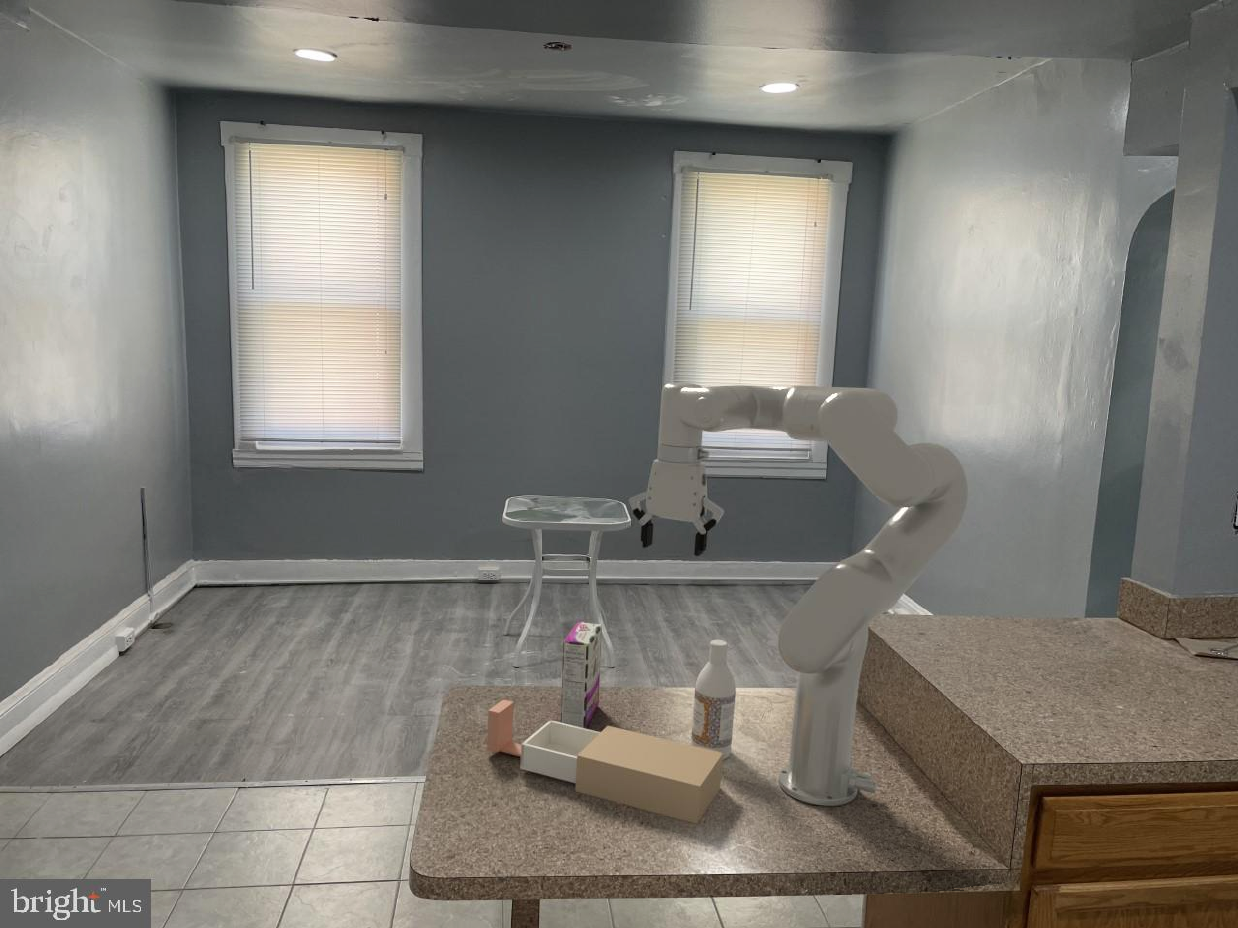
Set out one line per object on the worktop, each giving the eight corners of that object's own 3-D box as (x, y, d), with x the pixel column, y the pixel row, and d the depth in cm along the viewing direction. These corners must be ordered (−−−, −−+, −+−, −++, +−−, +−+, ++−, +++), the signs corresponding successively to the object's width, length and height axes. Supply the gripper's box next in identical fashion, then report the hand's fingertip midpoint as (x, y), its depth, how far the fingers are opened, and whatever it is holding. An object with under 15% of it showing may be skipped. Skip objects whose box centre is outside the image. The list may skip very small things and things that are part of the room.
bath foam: (683, 746, 163) (691, 637, 159) (718, 741, 165) (726, 633, 162) (702, 764, 156) (710, 651, 153) (738, 759, 159) (747, 647, 156)
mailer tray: (655, 769, 152) (658, 728, 151) (632, 798, 143) (635, 754, 142) (509, 733, 162) (510, 694, 161) (478, 757, 153) (480, 716, 152)
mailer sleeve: (720, 787, 149) (723, 752, 148) (697, 823, 138) (700, 786, 137) (605, 759, 156) (607, 725, 155) (575, 791, 145) (577, 755, 144)
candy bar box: (573, 702, 178) (577, 620, 176) (599, 706, 177) (603, 623, 175) (558, 727, 167) (562, 639, 165) (585, 730, 166) (589, 643, 164)
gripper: (733, 457, 162) (725, 553, 164) (640, 446, 168) (635, 539, 171) (721, 462, 155) (713, 562, 158) (624, 451, 161) (619, 547, 164)
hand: (672, 550), depth 164 cm, fingers open, 9 cm apart
